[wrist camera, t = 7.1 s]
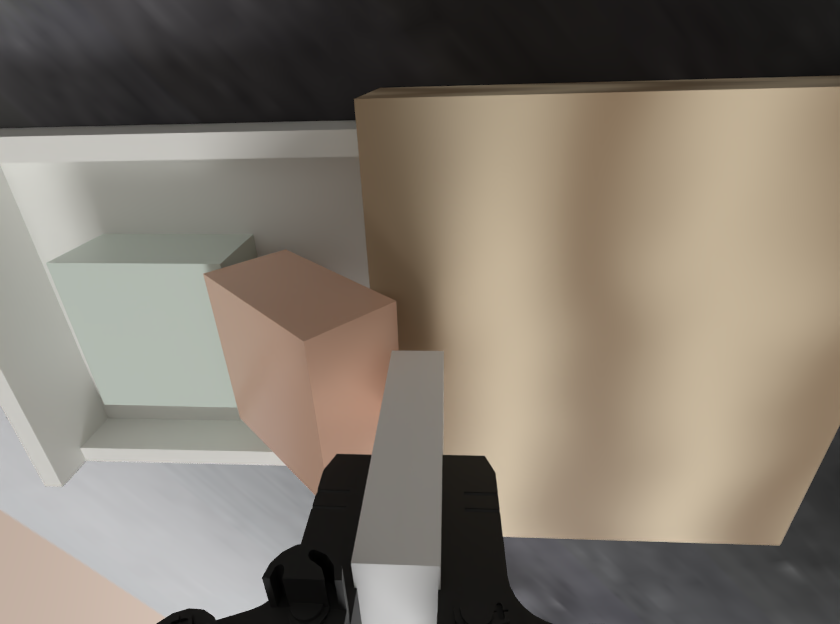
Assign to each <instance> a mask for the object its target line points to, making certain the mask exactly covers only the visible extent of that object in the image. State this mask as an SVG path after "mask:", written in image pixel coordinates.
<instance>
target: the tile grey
mask: <svg viewBox="0 0 840 624" xmlns="http://www.w3.org/2000/svg"><path fill="white" fill-rule="evenodd" d="M254 258H258V257H257V251H256V246H255V241H254V236H253V234H102V235H100V236H98V237H96V238H94V239H92V240H90V241H88V242H86V243H84V244H82V245H81V246H79V247H77V248H75V249H73V250H71V251H69V252H67V253H65V254H63V255H61V256H59V257H57V258H55V259H53V260H51V261H49V262H47V263H46V264H47V267H48V269H49V272H50V274H51V276H52V279H53V281H54V284H55V286H56V289H57V291H58V293H59V296H60V298H61V301H62V303H63V306H64V308H65V310H66V313H67V315H68V318H69V320H70V322H71V325H72V327H73V330H74V332H75V335H76V337H77V339H78V342H79V344H80V347H81V349H82V352H83V354H84V356H85V359H86V361H87V364H88V366H89V369H90V371H91V373H92V376H93V378H94V381H95V383H96V386H97V388H98V390H99V393H100V395H101V398H102V400H103V402H104V405H143V406H187V407H230V408H237V404H236V400H235V396H234V393H233V389H232V385H231V381H230V377H229V373H228V369H227V365H226V361H225V357H224V354H223V350H222V346H221V342H220V338H219V334H218V330H217V326H216V322H215V318H214V314H213V311H212V307H211V303H210V299H209V295H208V291H207V287H206V283H205V279H204V275H203V274H204V273H207V272H210V271H214V270H217V269H221V268H224V267H227V266H231V265H234V264H237V263H241V262H244V261H248V260H251V259H254Z"/></svg>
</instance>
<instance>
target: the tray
mask: <svg viewBox="0 0 840 624" xmlns="http://www.w3.org/2000/svg"><path fill="white" fill-rule="evenodd" d="M102 234H253V236H254V241H255V246H256V251H257V257H261V256H265V255H268V254H271V253H275V252H278V251H281V250H285V249H286V250H288V251H290V252H293V253H295V254H297V255H299V256H301V257H303V258H305V259H308V260H310V261H312V262H314V263H316V264H318V265H320V266H323V267H325V268H327V269H329V270H331V271H333V272H335V273H338V274H340V275H342V276H344V277H346V278H348V279H350V280H352V281H355V282H357V283H359V284H361V285H363V286H365V287H367V288H370V284H369V272H368V260H367V248H366V236H365V225H364V213H363V201H362V189H361V177H360V165H359V153H358V141H357V129H356V120H341V121H296V122H252V123H208V124H164V125H120V126H76V127H31V128H0V406H1V407H2V409H3V411H4V413H5V415H6V416H7V418H8V420H9V422H10V424H11V425H12V427H13V429H14V431H15V433H16V434H17V436H18V438H19V440H20V442H21V443H22V445H23V447H24V449H25V451H26V453H27V454H28V456H29V458H30V460H31V462H32V463H33V465H34V467H35V469H36V471H37V472H38V474H39V476H40V478H41V480H42V481H43V483H44V485H45V486H46V487H63V486H64V485H65V484H66V483H67V482H68V481H69V480H70V479H71V477H72V476H73V475H74V474H75V473H76V472H77V471H78V470H79V469H80V468H81V466H82V465H83V464H84V463H85V462H86V461H109V462H153V463H197V464H240V465H284V466H286V465H285V464H284V463H283V462H282V461H281V460H280V459H279V458H278V457H277V456H276V454H275V453H274V452H273V451H272V450H271V449H270V448H269V447H268V446H267V445H266V444H265V443H264V442H263V441H262V440H261V439H260V438H259V437H258V436H257V435H256V434H255V433H254V432H253V431H252V430H251V429H250V428H249V427H248V426H247V425H246V424H245V423H244V422H243V421H242V420H241V419H240V416H239V412H238V408H230V407H187V406H143V405H104V402H103V400H102V398H101V395H100V393H99V390H98V388H97V386H96V383H95V381H94V378H93V376H92V373H91V371H90V369H89V366H88V364H87V361H86V359H85V356H84V354H83V352H82V349H81V347H80V344H79V342H78V339H77V337H76V335H75V332H74V330H73V327H72V325H71V322H70V320H69V318H68V315H67V313H66V310H65V308H64V306H63V303H62V301H61V298H60V296H59V293H58V291H57V289H56V286H55V284H54V281H53V279H52V276H51V274H50V272H49V269H48V267H47V264H46V263H47V262H49V261H51V260H53V259H55V258H57V257H59V256H61V255H63V254H65V253H67V252H69V251H71V250H73V249H75V248H77V247H79V246H81V245H82V244H84V243H86V242H88V241H90V240H92V239H94V238H96V237H98V236H100V235H102Z"/></svg>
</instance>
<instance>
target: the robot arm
mask: <svg viewBox="0 0 840 624" xmlns="http://www.w3.org/2000/svg"><path fill="white" fill-rule="evenodd" d="M443 441H444V351H392V352H391V357H390V362H389V368H388V373H387V378H386V383H385V389H384V394H383V399H382V404H381V409H380V415H379V420H378V425H377V430H376V435H375V441H374V446H373V451H372V455H369V454H336V455H335V457H334V458H333V459H332V460H331V461H330V463H329V464H328V465H327V466H326V467H325V469H324V470H323V473H322V476H321V479H320V483H319V486H318V491H317V493H316V496H315V499H314V502H313V508H312V509H311V512H310V516H309V519H308V522H307V526H306V529H305V532H304V536H303V539H302V542H301V544H299V545H296V546H293V547H291V548H289V549H287V550H285V551H283V552H282V553H281V554H280V555H279V556H277V557H276V558H275V559H274V560H273V561H272V562H271V563H270V564H269V566H268V568H267V570H266V572H265V573H264V575H263V577H262V579H263V583H264V586H265V590H266V593H267V597H268V600H269V601H267V602H266V603H264V604H263V605H261V606H259V607H256V608H254V609H252V610H249V611H246V612H242V613H239V614H236V615H232V616H229V617H226V618H222V619H219V620H215V618H214V616H212V615H211V614H209V613H208V612H206V611H205V610H201V609H190V608H189V609H186V610H182V611H179V612H175V613H173V614H171V615H169V616H168V617H166V618H165V619H163V620H161V621H160V622H158V623H157V624H552V623H549V622H546V621H544V620H542V619H540V618H538V617H537V616H535V615H533V614H532V613H531V612H529V611H528V610H527V609H526V608H524V607H523V606H522V604H521V603H520V602H519V601H518V599H517V598H516V597H515V595H514V593H513V591H512V589H511V587H510V584H509V580H508V576H507V569H506V560H505V551H504V542H503V534H502V525H501V516H500V507H499V498H498V489H497V481H496V473H495V471H494V470H493V468H492V466H491V465H490V463H489V462H488V460H487V458H486V457H485V456H474V455H443Z"/></svg>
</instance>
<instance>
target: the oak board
mask: <svg viewBox="0 0 840 624" xmlns="http://www.w3.org/2000/svg"><path fill="white" fill-rule="evenodd" d="M354 105H355V117H356V129H357V141H358V153H359V165H360V177H361V189H362V201H363V213H364V225H365V236H366V248H367V260H368V272H369V284H370V289H372V290H374V291H376V292H378V293H380V294H382V295H385V296H387V297H389V298H391V299H393V300H395V301H396V305H397V325H398V345H399V351H444V441H443V455H474V456H485V457H486V458H487V460H488V462H489V463H490V465H491V466H492V468H493V470H494V471H495V473H496V481H497V489H498V498H499V507H500V516H501V525H502V534H503V537H527V538H559V539H590V540H622V541H654V542H686V543H718V544H749V545H780V544H781V542H782V540H783V538H784V536H785V534H786V532H787V530H788V528H789V526H790V524H791V522H792V520H793V518H794V516H795V514H796V512H797V510H798V508H799V506H800V504H801V502H802V500H803V498H804V496H805V494H806V492H807V490H808V488H809V486H810V484H811V482H812V480H813V478H814V476H815V474H816V472H817V470H818V468H819V466H820V464H821V462H822V460H823V458H824V456H825V454H826V452H827V450H828V448H829V446H830V444H831V442H832V440H833V438H834V436H835V434H836V431H837V429H838V427H839V425H840V76H804V77H766V78H729V79H692V80H654V81H617V82H580V83H542V84H505V85H468V86H430V87H393V88H379V89H376V90H374V91H372V92H369V93H367V94H365V95H362V96H360V97H358V98H355V99H354Z"/></svg>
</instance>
